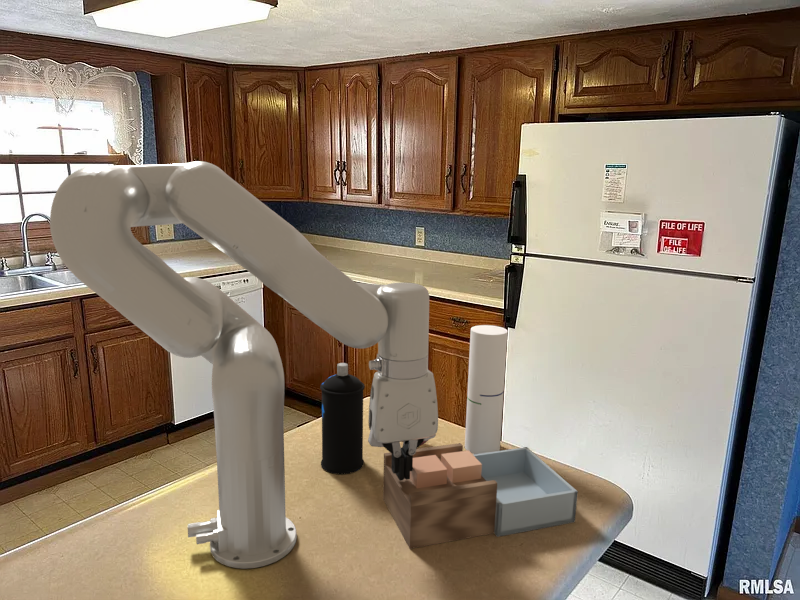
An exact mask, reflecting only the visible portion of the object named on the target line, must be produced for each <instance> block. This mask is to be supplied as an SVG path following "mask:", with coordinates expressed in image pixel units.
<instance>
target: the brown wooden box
mask: <svg viewBox="0 0 800 600" xmlns="http://www.w3.org/2000/svg"><path fill="white" fill-rule="evenodd" d="M460 451H464V445H463V444H462V443H461V442H459V443H451V444H445V445H436V446H430V447H429V446H428V447H419V448H417V449H416V453H415V454H414V455H413V458H416V457H423V456H431V455H436V456H437V457H438V458H439V460H440V461H441V454H446V453H453V452H460ZM391 461H392V453H391V452H389V451H388V452H384V453H383V483H382V484H383V487H382V489H383V491H382V492H383V493H382V494H383V495H382V497H383V498H382V500H383V502H384V503H385V505H386V508H387V509H388V511H389V513H390V515H391V518H392V520H394V522H395V525H396V526H397V527H398V530H399V532H400V534H401V535H402V537H403V538H404V541H405V543H406V545H407V546H408V549H410V550H411V549H416V548H423V547H426V546H428V547H429V546H433V545H438V544H443V543H444V544H445V543H448V542H454V541H459V540H463V539H464V540H465V539H469V538H470V539H471V538H475V537H480V536H485V535H486V536H487V535H492V534H495V533H494V529H495V513H496V498H497V482H496V481H495V480H491V481H486V480H485V479H484V478H483V477H482V475H481V479H475V480H469V481H462V482H456V483H452V482H451V481H450V479H449V478H448V477H447V484H443V485H436V486H430V487H423V488H416V487H415V485H414V484H413V482H412V481H411V479H407V480H406V479H405V478H404V479H403V480H401V481H400V480H399V479H398V477H397V475H396V474H394V473H393V472H392V467H391Z"/></svg>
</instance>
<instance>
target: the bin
mask: <svg viewBox="0 0 800 600" xmlns="http://www.w3.org/2000/svg"><path fill="white" fill-rule="evenodd" d="M472 454H473V453H472ZM473 455H474V456H475V457H476V459H477V460H478V461H479V462H480V463H481V464H482V472H481V475H482V477H483V478H484V479H485V480H486V481H491V480H495V481H496V482H497V498H496V513H495V529H494V533H493V534H495V536H496V537H497V538H498V537H503V536H504V537H505V536H508V535H515V534H520V533H525V532H530V531H537V530H540V529H545V528H550V527H551V528H552V527H556V526H562V525H567V524H573V523H575V522H576V513H577V505H578V504H577V501H578V493H579V491H578V490H577V489H576V488H575V487H574V486H572V485H571V483H569V482H567V480H565V479H564V478H563V477H562V476H561V475H559V474H558V472H556V471H555V470H554V469H553V468H552V467H550V466H549V465H548V464H547V463H546V462H545V461H543V460H542V459H541V458H540V457H539V456H538V455H537V454H535V452H533V451H532V450H531V449H530V448H529V447H528V446H524V447H518V448H509V449H504V450H500V451H495V452H488V453H481V454H473Z"/></svg>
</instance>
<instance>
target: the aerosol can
mask: <svg viewBox="0 0 800 600" xmlns="http://www.w3.org/2000/svg"><path fill="white" fill-rule="evenodd" d="M336 365H337V366H336V368H337V370H336V371H337V373H336V374H334V375H331V376H329V377H328V378H326V379H325V380H324V382H322V383H321V384H320V386H319V387H320V391H321V461H320V466H321V469H323V470H324V471H325V472H328V473H330V474H334V475H347V474H348V475H350V474H352V473H355V472H358V471H359V470H361V469H362V468H363V466H364V465H365V461H364V457H363V456H364V455H363V454H364V453H363V452H364V451H363V448H364V446H363V445H364V439H363V438H364V390H365V388H366V387H365V384H364V383H363V382H362V381H361V380H360V379H359V378H358V377H356V376H355V375H352V374H349V365H348V363H346V362H340V363H337V364H336Z"/></svg>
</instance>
